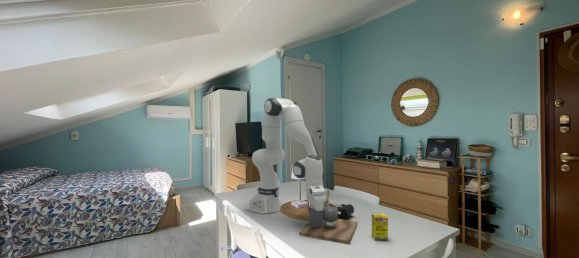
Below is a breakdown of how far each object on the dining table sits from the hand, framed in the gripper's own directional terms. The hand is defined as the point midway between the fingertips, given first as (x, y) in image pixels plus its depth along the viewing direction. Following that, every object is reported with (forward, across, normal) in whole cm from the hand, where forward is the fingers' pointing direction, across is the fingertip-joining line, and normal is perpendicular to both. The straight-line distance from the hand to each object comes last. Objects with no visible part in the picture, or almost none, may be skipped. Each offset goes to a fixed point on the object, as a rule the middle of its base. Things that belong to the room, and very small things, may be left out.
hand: (314, 213), depth 127 cm
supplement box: (+8, +16, +28) cm, 33 cm away
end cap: (+8, -12, +22) cm, 26 cm away
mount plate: (+8, +3, +8) cm, 11 cm away
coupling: (+5, +3, +4) cm, 7 cm away
